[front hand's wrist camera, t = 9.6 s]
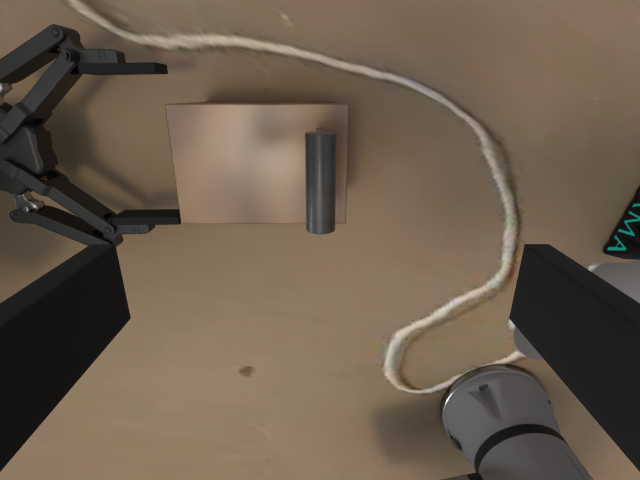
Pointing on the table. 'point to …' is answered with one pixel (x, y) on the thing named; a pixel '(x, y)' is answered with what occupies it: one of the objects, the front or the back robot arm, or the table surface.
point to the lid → (260, 163)
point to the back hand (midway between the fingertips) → (173, 147)
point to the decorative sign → (627, 234)
